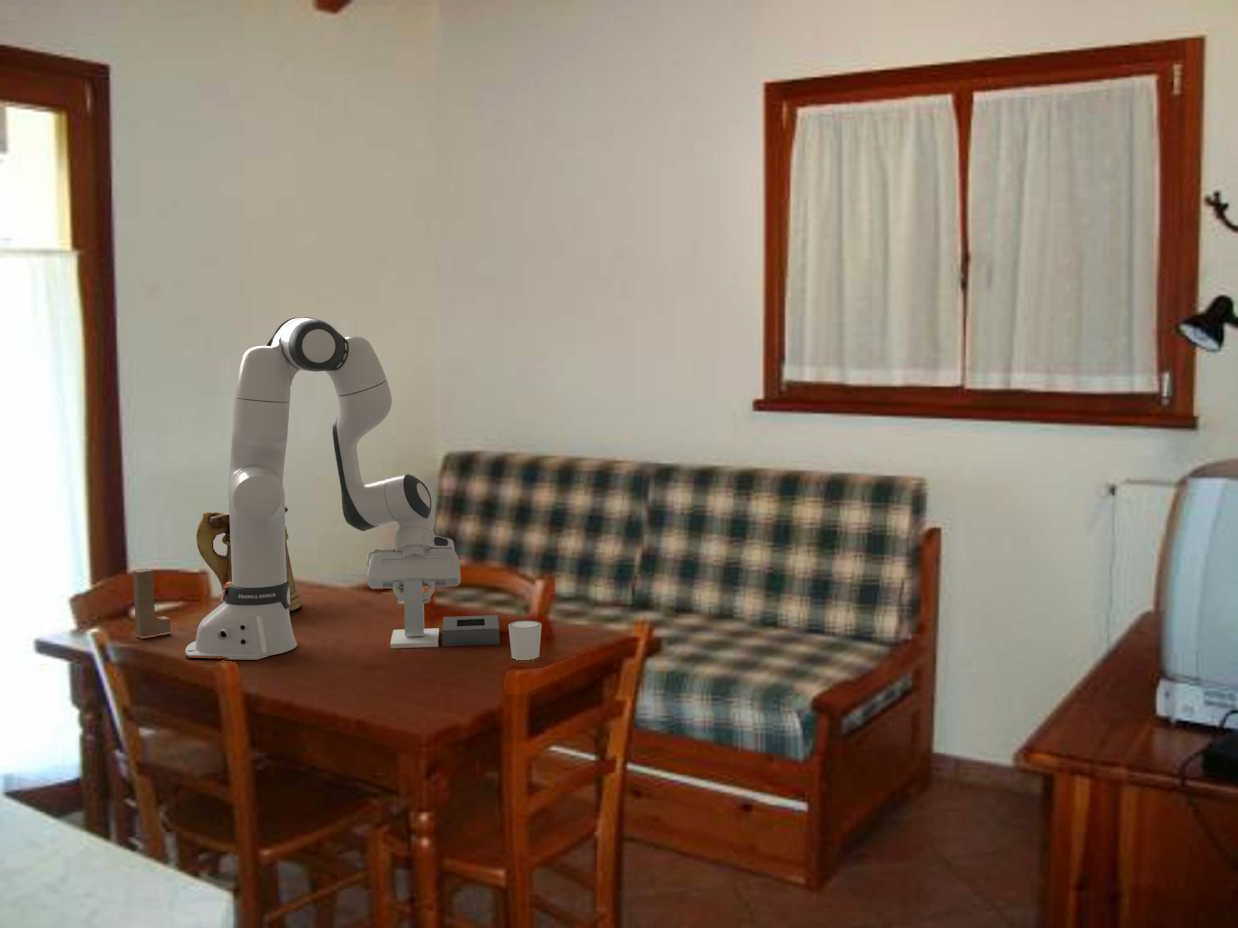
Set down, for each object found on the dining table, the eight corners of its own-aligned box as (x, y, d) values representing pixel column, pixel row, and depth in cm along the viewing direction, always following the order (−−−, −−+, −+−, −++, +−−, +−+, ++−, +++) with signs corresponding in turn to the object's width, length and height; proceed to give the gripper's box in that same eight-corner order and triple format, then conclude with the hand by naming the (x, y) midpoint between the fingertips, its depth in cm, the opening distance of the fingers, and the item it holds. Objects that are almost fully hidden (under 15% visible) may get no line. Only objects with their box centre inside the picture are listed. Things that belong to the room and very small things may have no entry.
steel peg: (404, 636, 265) (403, 581, 263) (405, 631, 269) (404, 577, 267) (423, 635, 265) (422, 581, 264) (424, 631, 269) (423, 577, 268)
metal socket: (442, 646, 262) (442, 630, 261) (443, 632, 274) (443, 616, 273) (499, 644, 263) (499, 628, 263) (497, 630, 275) (497, 615, 275)
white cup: (548, 655, 254) (548, 622, 253) (528, 663, 248) (528, 629, 248) (522, 651, 258) (521, 618, 257) (501, 658, 252) (501, 625, 251)
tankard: (311, 612, 293) (307, 509, 290) (210, 625, 281) (205, 517, 278) (288, 598, 308) (284, 499, 305) (191, 610, 296) (186, 507, 293)
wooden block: (141, 639, 269) (137, 572, 267) (135, 637, 271) (132, 570, 269) (171, 634, 273) (167, 568, 271) (165, 631, 275) (162, 566, 274)
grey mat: (390, 648, 260) (390, 643, 260) (393, 634, 272) (393, 629, 272) (438, 646, 262) (438, 641, 262) (439, 632, 273) (439, 628, 273)
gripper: (366, 542, 270) (363, 595, 262) (460, 539, 273) (460, 592, 264) (368, 558, 275) (366, 611, 266) (460, 555, 278) (461, 608, 269)
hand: (414, 601), depth 265 cm, fingers closed on steel peg, 4 cm apart
